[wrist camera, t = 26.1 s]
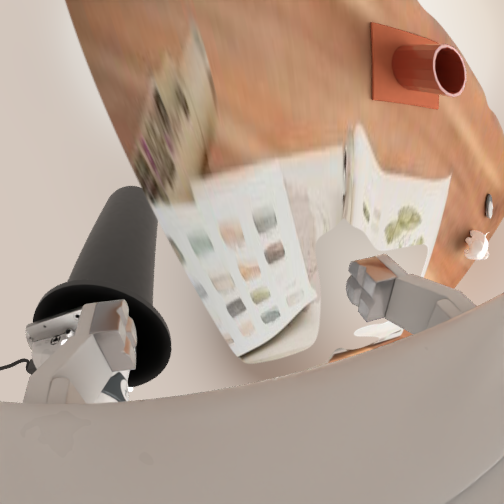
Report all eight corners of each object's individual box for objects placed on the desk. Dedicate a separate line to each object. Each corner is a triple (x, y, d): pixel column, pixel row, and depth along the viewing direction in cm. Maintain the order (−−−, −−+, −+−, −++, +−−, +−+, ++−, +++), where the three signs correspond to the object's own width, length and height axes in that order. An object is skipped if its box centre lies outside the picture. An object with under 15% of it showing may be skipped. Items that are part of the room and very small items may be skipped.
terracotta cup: (390, 86, 36) (432, 92, 29) (389, 40, 33) (431, 38, 25) (424, 93, 38) (465, 100, 30) (424, 50, 34) (466, 52, 26)
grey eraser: (484, 194, 52) (488, 196, 51) (490, 191, 52) (493, 193, 51) (484, 218, 55) (487, 220, 54) (489, 215, 55) (493, 217, 54)
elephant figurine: (454, 247, 56) (472, 261, 51) (473, 218, 54) (491, 230, 49) (463, 258, 59) (480, 271, 54) (481, 231, 57) (498, 243, 52)
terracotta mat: (372, 99, 37) (373, 99, 36) (370, 22, 31) (372, 22, 30) (436, 109, 39) (438, 109, 39) (437, 43, 33) (438, 42, 33)
